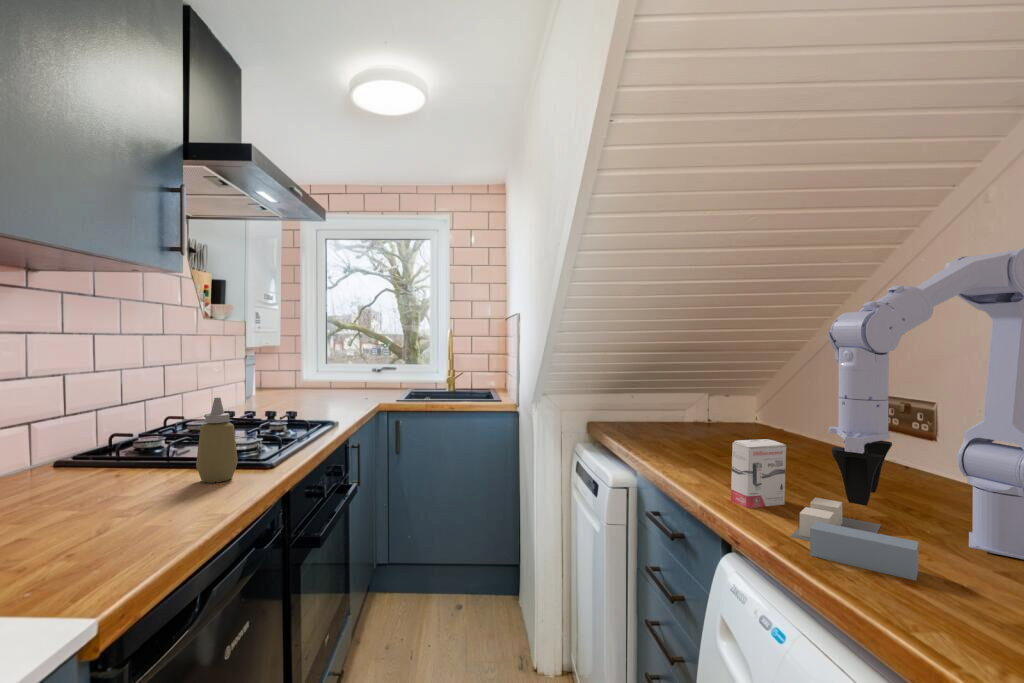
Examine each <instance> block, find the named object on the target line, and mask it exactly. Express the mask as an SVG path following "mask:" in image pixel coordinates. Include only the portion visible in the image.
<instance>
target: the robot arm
mask: <svg viewBox="0 0 1024 683" xmlns="http://www.w3.org/2000/svg"><path fill="white" fill-rule="evenodd" d="M886 291H887V293H886V294H885V295H883V296H882V297H880V298H878V299H876V300H872V301H870V300H869V301H867V302H865V303H864V304H862V305H863V307H862V308H860V309H859V310H858V311H849V312H848V311H847V312H843V313H841V314H840V315H838V316H837V318H836V319H835V320H834V321H833V323H832V324H831V328H830V330H829V331H828V332H827V338H828V342H829V343H830V345H831V347H832V348H833V350H834V360H836V363H837V364H838V426H829V427H828V433H829V434H836V435H838V436H839V437H840V438H841V439H843V440H844V441H843V443H844V447H839V446H834V447H832V448H831V454H832V457H833V458H834V460H835V462H836V463H837V466H838V468H839V471H840V474H841V477H842V482H843V486H844V491H845V495H846V499H847V502H848V503H849V504H855V505H861V506H866V507H867V506H868V503H869V502H870V498H871V494H872V493H874V494H876V492H877V489H878V486H879V481H880V477H881V473H882V469H883V465H884V461H885V459H886V457H887V455H888V452H889V451H890V449H891V448H892V447H893V443H892V441H889V439H891V432H889V373H890V371H889V369H890V368H889V365H890V364H889V363H890V362H889V361H890V360H889V358H890V357H889V353H890V352H893V351H895V350H896V348H897V347H898V345H899V344H900V341H901V338H902V337H903V336H904V335H905V334H907V333H908V332H910V331H912V330H913V329H915V328H916V327H918V326H920V325H921V324H924V323H925V322H927V321H928V320H930V319H931V318H932V316H933V314H934V309H935V308H934V307H936V306H938V305H940V304H943V303H944V302H946V301H949V300H951V299H953V298H954V297H956V296H957V297H958V298H960V299H961V300H963V301H964V302H966V303H967V304H969V305H970V306H971V307H973V308H975V310H978V311H980V312H981V311H982V312H985V313H986V314H987V315H988V317H990V318H991V329H990V338H989V339H990V341H989V349H988V350H989V354H988V360H987V375H986V385H985V396H984V406H983V419H982V421H980V422H979V423H976V424H975V425H973V426H971V427H970V428H968V429H966V430H965V431H964V438H963V441H962V444H961V446H960V448H959V450H958V453H957V456H956V457H957V459H956V460H957V465H958V466H957V467H958V468H959V471H960V472H961V473H962V475H963V476H964V477H966V478H967V482H966V483H967V484H970V485H972V531H968V547H969V548H970V549H974V550H979V551H980V550H981V551H984V552H987V553H990V554H993V555H1000V556H1004V557H1011V558H1015V559H1020V560H1024V247H1021V248H1019V249H1014V250H1008V251H1000V252H999V251H998V252H994V253H987V254H979V255H972V256H966V255H965V256H959V257H957V258H955V259H954V260H952V261H948V262H947V263H945V265H944V268H943V269H941V270H940V271H938V272H937V273H935V274H934V275H933V276H931V277H929V278H927V279H926V280H925V281H924V282H922V283H920V284H919V285H917V286H911V285H903V284H901V285H893V286H891V287H889V288H888V289H887V290H886ZM995 441H996V442H997V441H998V442H1003V443H996V442H995ZM1004 443H1009V444H1010V445H1008V444H1004ZM1011 444H1015V445H1018V446H1015V445H1011Z"/></svg>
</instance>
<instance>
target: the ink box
mask: <svg viewBox="0 0 1024 683" xmlns="http://www.w3.org/2000/svg"><path fill="white" fill-rule="evenodd" d="M731 452H732V455H731V480H730V481H731V482H730V483H731V484H730V485H731V486H730V488H731V489H730V502H732V503H734V504H737V505H739V506H742V507H744V508H747V509H751V508H752V509H753V508H754V509H755V508H763V507H773V506H774V507H775V506H782V505H785V504H786V503H785V499H786V498H785V497H786V496H785V495H786V469H787V468H786V466H787V465H786V464H787V463H786V462H787V461H786V460H787V444H784V443H782V442H779V441H778V440H774V439H768V438H765V439H763V438H762V439H743V440H742V439H741V440H734V442H732V451H731Z"/></svg>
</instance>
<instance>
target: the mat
mask: <svg viewBox="0 0 1024 683" xmlns="http://www.w3.org/2000/svg"><path fill="white" fill-rule="evenodd" d="M841 526H842V527H847V528H852V529H857V530H862V531H867V532H872V533H877V534H879V533H878V532H879V531H880V528H881V527H882V524H879V523H875V522H870V521H864V520H859V519H853V518H848V517H843V516H842V524H841ZM799 533H800V525H799V527H797V528H796V530H794V532H792V533H791V535H790V536H789V537H790V538H793V539H798V540H803V541H806V542H810V538H809V537H805V536H800V535H799Z"/></svg>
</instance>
